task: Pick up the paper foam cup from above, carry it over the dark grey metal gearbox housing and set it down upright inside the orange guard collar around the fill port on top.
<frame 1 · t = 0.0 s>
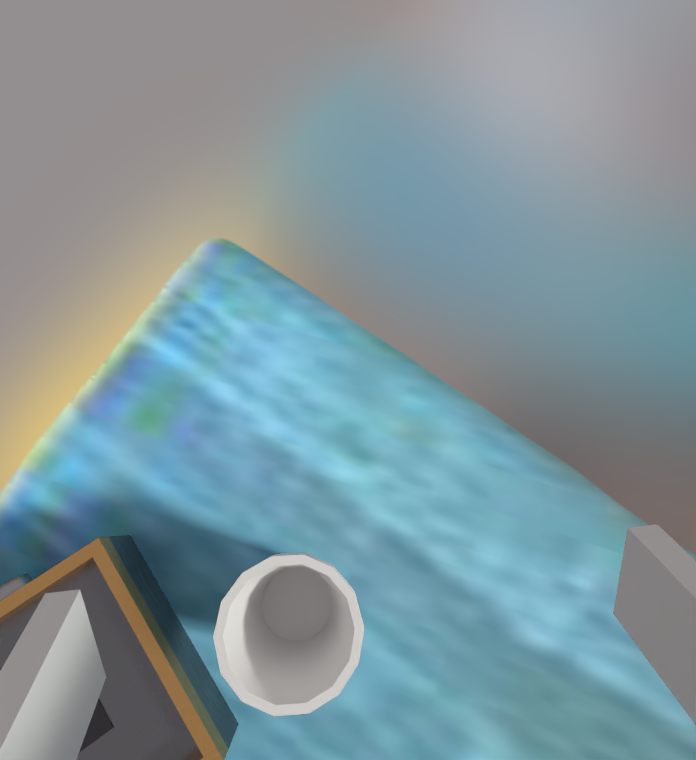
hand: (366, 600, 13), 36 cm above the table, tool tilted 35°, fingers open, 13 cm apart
foam cup: (297, 601, 46), on the table
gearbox: (85, 694, 44), on the table
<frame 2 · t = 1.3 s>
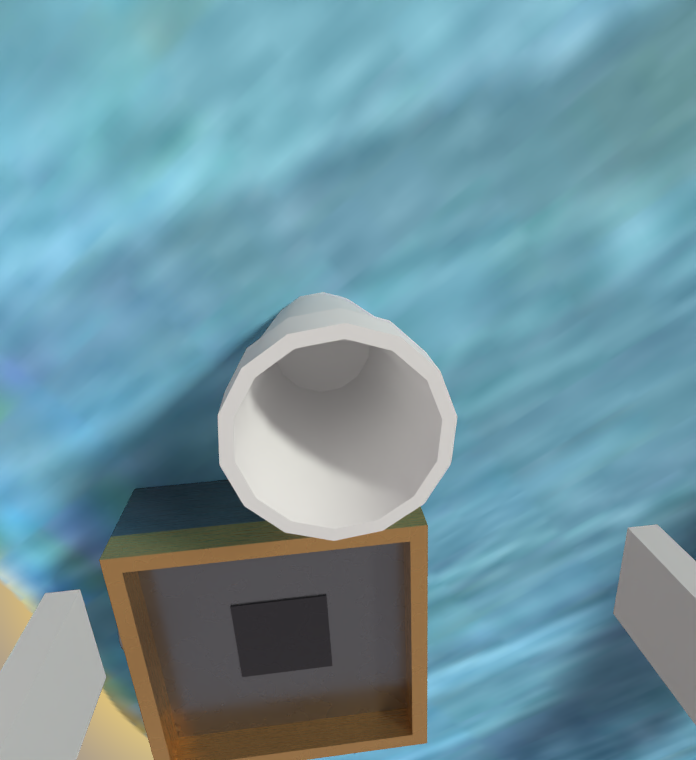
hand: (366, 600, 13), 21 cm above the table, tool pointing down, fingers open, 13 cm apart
foam cup: (321, 342, 33), on the table
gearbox: (284, 581, 39), on the table
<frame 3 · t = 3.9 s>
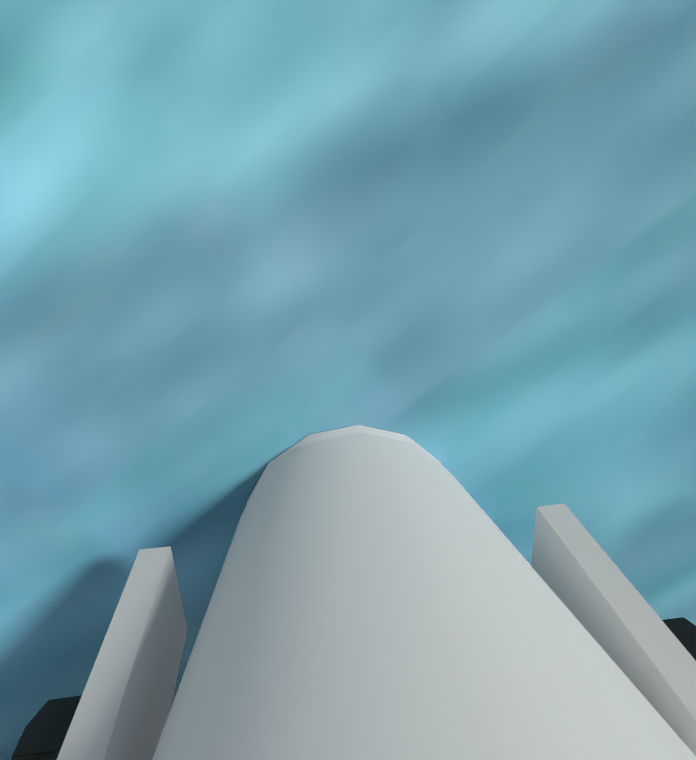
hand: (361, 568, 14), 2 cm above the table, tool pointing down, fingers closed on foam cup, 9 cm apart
foam cup: (351, 516, 16), on the table, touching gripper
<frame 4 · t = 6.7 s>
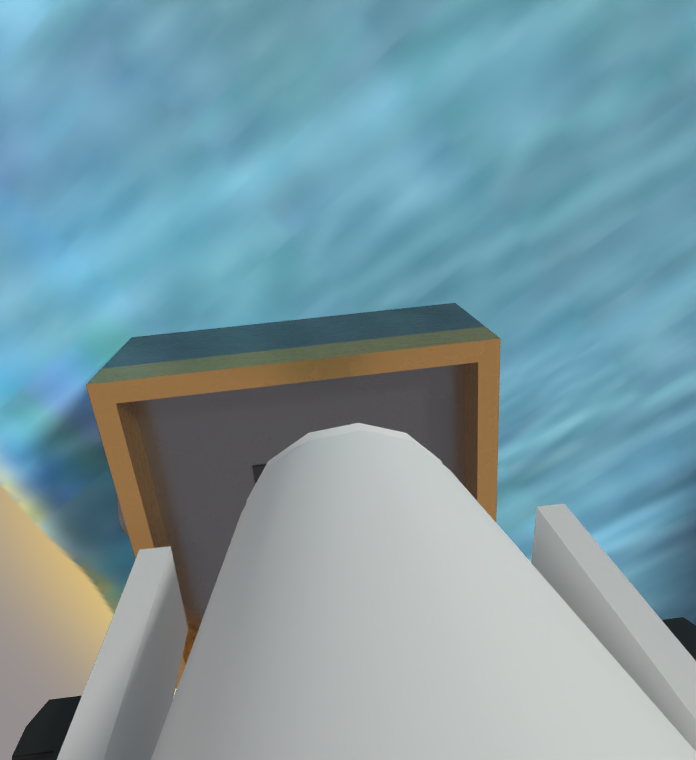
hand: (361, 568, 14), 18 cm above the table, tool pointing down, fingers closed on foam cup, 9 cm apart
foam cup: (351, 514, 16), point 15 cm above the table, touching gripper
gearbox: (313, 461, 33), on the table
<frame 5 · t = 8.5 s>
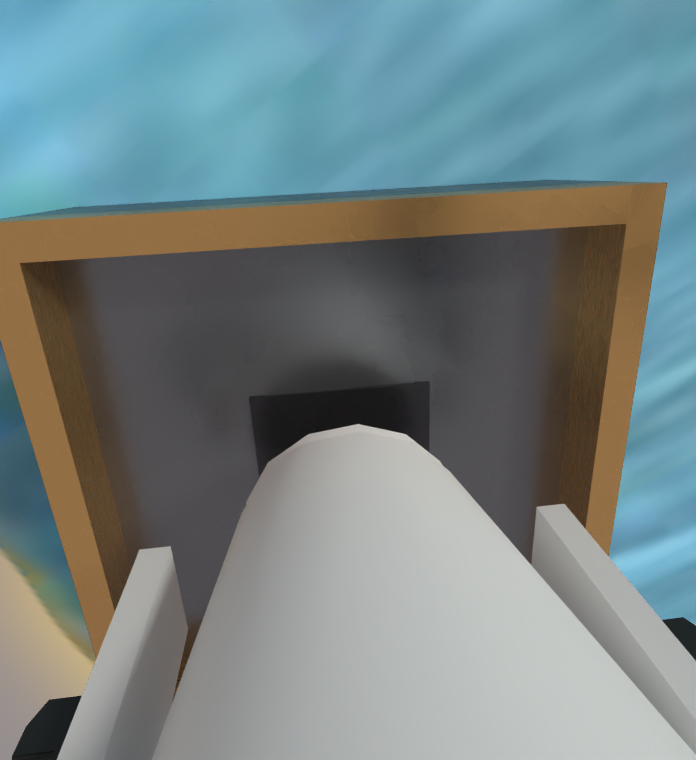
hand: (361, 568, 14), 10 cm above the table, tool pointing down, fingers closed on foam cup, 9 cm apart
foam cup: (351, 516, 16), point 8 cm above the table, touching gripper
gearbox: (334, 409, 23), on the table
when the fingers open (9 cm above the table, at t = 9.8 s): foam cup drops 1 cm, resting on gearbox.
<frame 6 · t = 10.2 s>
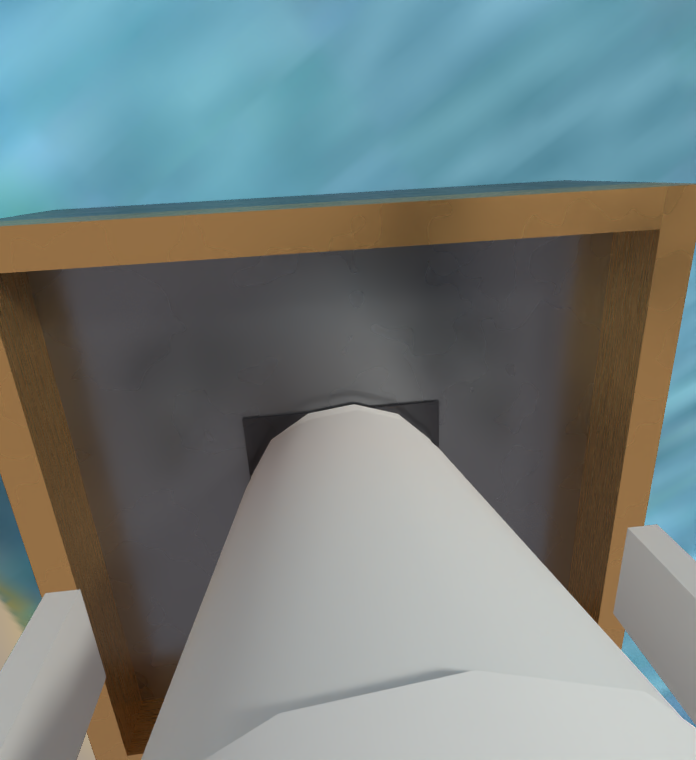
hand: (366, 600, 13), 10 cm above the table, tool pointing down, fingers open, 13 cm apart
foam cup: (348, 491, 17), point 5 cm above the table, touching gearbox
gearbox: (334, 425, 22), on the table
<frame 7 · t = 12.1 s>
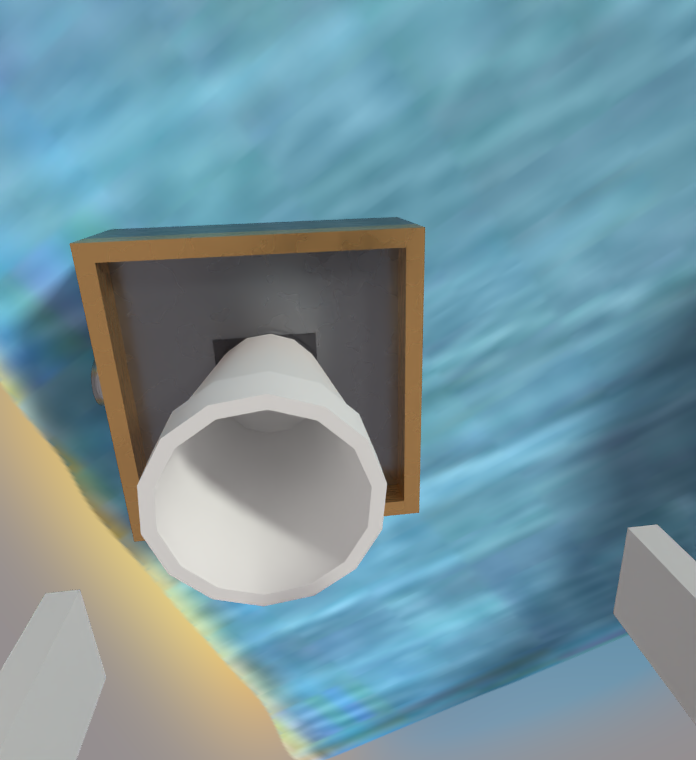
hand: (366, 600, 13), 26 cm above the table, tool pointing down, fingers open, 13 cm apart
foam cup: (269, 382, 33), point 5 cm above the table, touching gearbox
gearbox: (269, 357, 37), on the table
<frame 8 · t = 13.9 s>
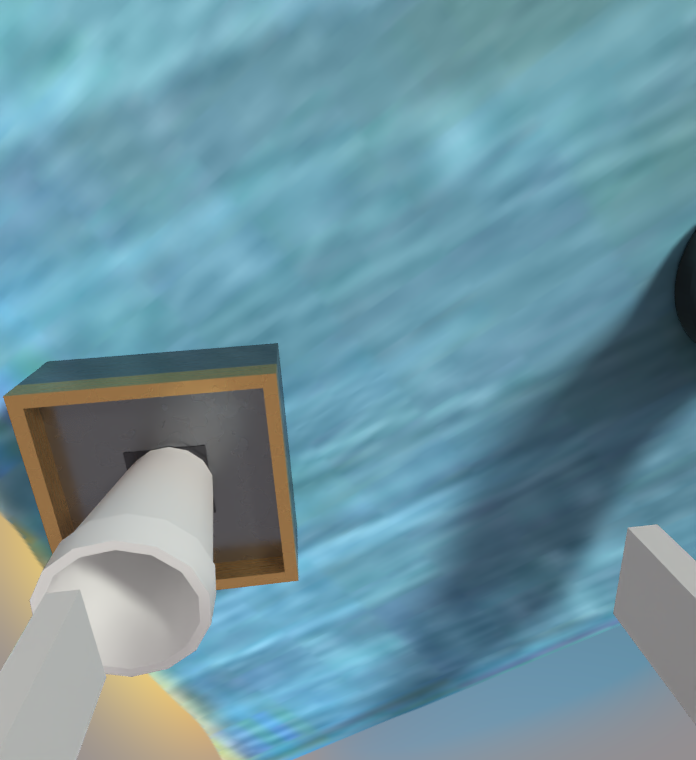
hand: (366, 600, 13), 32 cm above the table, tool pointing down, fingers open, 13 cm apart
foam cup: (172, 482, 41), point 5 cm above the table, touching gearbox
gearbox: (183, 451, 46), on the table
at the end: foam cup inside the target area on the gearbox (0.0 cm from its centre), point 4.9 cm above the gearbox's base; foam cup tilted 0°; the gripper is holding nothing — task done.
